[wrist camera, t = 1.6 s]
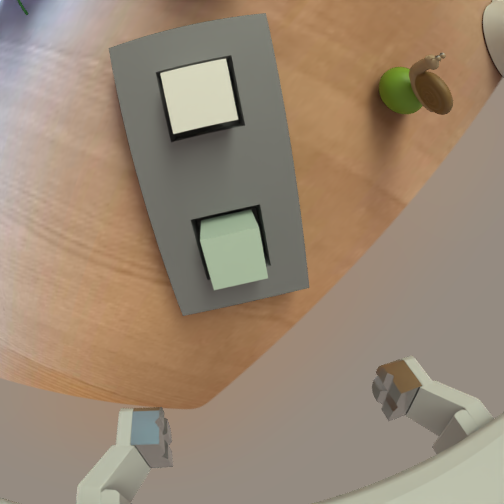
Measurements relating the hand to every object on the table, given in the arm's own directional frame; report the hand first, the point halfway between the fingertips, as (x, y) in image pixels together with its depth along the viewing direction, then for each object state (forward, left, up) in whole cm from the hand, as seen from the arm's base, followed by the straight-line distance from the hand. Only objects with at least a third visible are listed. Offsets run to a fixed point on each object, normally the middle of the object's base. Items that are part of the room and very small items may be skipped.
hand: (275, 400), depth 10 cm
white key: (+1, -11, -22) cm, 25 cm away
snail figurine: (-20, -10, -26) cm, 35 cm away
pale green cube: (+1, +3, -22) cm, 23 cm away
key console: (+1, -4, -26) cm, 26 cm away
